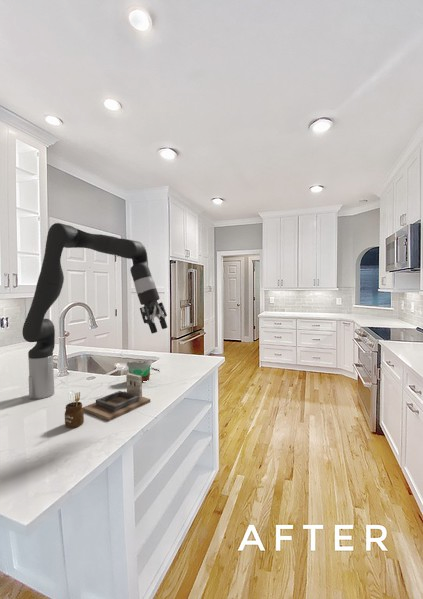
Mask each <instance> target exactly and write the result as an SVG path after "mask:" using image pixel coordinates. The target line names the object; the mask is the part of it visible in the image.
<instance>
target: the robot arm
mask: <svg viewBox="0 0 423 599" xmlns="http://www.w3.org/2000/svg"><path fill="white" fill-rule="evenodd" d="M64 248H66V249H73V248H74V249H75V248H76V249H79V248H80V249H81V248H82V249H90V250H92V251H95V252H99V253H102V254H107V255H112V256H117V257H120V258H125V259H128V260H131V261H132V266H131V267H130V274H131V277H132V280H133V283H134V289H135V291H136V295H137V298H138V300H139V304H140V305H141V307H139V311H140V314H141V317H142V321H143V323H144V324H147V325H148V328H149V330H150V333H151V334H152V335H153V334H156V333H158V329H157V325H156V323H155V318H157V319H158V321H159V324H160V327H161V329H162V330H164V329H167V328H168V325H167V321H166V317H167V316H168V314H167V312H166V309H165V306H164V304H163V302H158V301H159V300H160V295H159V292H158V289H157V286H156V283H155V281H154V279H153V276H152V273H151V271H150V267H149V261H148V260H149V259H148V253H147V249H146V247H145V245H144V244H143V243H142V242H141V241H137V240H132V239H127V238H119V237H116V236H111V235H106V234H99V233H97V234H96V233H90V232H86V231H83V230H81V229H78V228H76V227H74V226H72V225H69V224H64V223H61V222H60V223H59V222H55V223H53V224H51V226H50V227H49V229H48V232H47V236H46V242H45V250H44V256H43V259H42V264H41V268H40V272H39V275H38V279H37V283H36V287H35V291H34V295H33V299H32V301H31V304H30V308H29V311H28V313H27V316H26V318H25V320H24V323H23V325H22V326H23V327H22V336H23V339H24V341H25V342H28V343H35V345H34V346H33V347H32V348H31V349H29V351H28V353H27V357H28V396H29V400H32V399H33V400H37V399H38V400H39V399H45V398H49V397H52V396H53V395H54V394H55V376H54V350H55V346H56V344H55V343H56V341H55V339H56V338H55V336H56V333H55V332H56V329H55V324H54V323H53V321H52V320H51V319H49V318H45V316H46V314H47V312H48V310H49V309H50V308H51V307H52V305H53V304H54V303H55V302H56V301H57V299H58V298H59V296H60V295H61V292H62V288H63V285H64V280H65V276H64V272H63V268H62V264H61V261H62V260H61V258H62V253H63V250H64Z"/></svg>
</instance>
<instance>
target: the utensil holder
mask: <svg viewBox="0 0 423 599" xmlns="http://www.w3.org/2000/svg"><path fill="white" fill-rule="evenodd" d="M73 393H74V394H73V395H74V397H73V398H71V396H70V394H72V391H69V393H68V394H67V396H69V397H67V398H68V400H73V401H71V402H68V403H66V405H65V411H64V425H65V427H66V428H68V429H73V428H79V427H81V426H82V425H83V424H84V422H85V421H84V420H85V418H84V417H85V415H84V413H85V411H83V408H82V407H83V404H82V402H81V401H80V398H81V392H80V391H79V392H76V393H75V392H73Z"/></svg>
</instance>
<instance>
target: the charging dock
mask: <svg viewBox="0 0 423 599" xmlns="http://www.w3.org/2000/svg"><path fill="white" fill-rule="evenodd" d="M125 375H126V391H125V390H124V391H121V390H119V391H115V392H112V393H111V394H108V395H105V396H102V397H100V398H97V399H95V402H93V403H90V404H88V405H84V406H82V408H83V412H84V413H85V412H86V413H87V414H90V415H93V416H95V417H98V418H100V419H102V420H105V421H107V422H111V421H113V420H114V419H116V418H119V417H121V416H123V415H125V414H128V413H130V412H132V411H134V410H136V409H138V408H140V407H143V406H145V405H148V404H149V403H151V398H147V397H145V396H143V383H142V376H139V375H134V374H130V373H129V372H127V373H126V374H125Z"/></svg>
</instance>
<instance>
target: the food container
mask: <svg viewBox="0 0 423 599" xmlns="http://www.w3.org/2000/svg"><path fill="white" fill-rule="evenodd" d="M151 365H153V362H152V359H149V360H145V361H144V360H139V361H134V362H132V361H131V362H129V361H127V362H126V366H127V367H128V373H130V374H134V375H139V376H142V382H143V381H147V380H148V381H150V373H151V368H150V367H152V366H151ZM148 381H147V382H148ZM143 383H144V382H143Z"/></svg>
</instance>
